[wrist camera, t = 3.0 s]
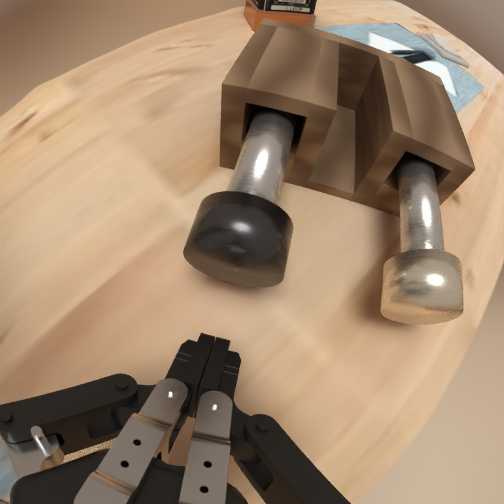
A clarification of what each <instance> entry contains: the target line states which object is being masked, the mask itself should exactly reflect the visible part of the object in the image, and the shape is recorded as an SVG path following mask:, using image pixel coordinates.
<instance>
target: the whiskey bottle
mask: <svg viewBox="0 0 504 504" xmlns="http://www.w3.org/2000/svg"><path fill="white" fill-rule="evenodd" d="M316 1H317V0H246V5H245V11H244V16H245V18H246V19H247V21H248V23H249V24H250V26H251V28H252V29H253V31H256V30H257V28H258V27H259V25H260V23H261V21H262V20H263V18H267V19H272V20H278V21H283V22H288V23H292V24H297V25H301V26H305V27H309V28H314V22H315V17H316V16H315V15H314V10H315V6H316Z"/></svg>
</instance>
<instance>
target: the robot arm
mask: <svg viewBox="0 0 504 504" xmlns="http://www.w3.org/2000/svg"><path fill="white" fill-rule="evenodd" d="M229 345H230V340H226V339H222V338H219V337H216V340H215V336H211V335H207V334H204V333H201V334H200V337H199V339H198V341H197V342H195V341H192V340H187V341H186V342H184V343H183V344H182V345H181V347H180V349H179V351H178V353H177V355H176V357H175V359H174V361H173V363H172V365H171V367H170V369H169V371H168V373H167V375H166V377H165V379H163V380H161V381H159V382H158V383H157V384H156V385H137V382H136V381H135V379H134V378H132V377H131V376H129V375H126V374H114V375H111V376H108V377H105V378H101V379H98V380H95V381H91V382H88V383H85V384H81V385H78V386H74V387H71V388H67V389H63V390H60V391H56V392H52V393H48V394H45V395H41V396H37V397H33V398H29V399H24V400H20V401H16V402H11V403H7V404H2V405H0V436H1V437H2V439H3V440H4V442H5V443H6V445H7V448H8V451H9V454H10V457H11V460H12V463H13V465H14V468H15V471H16V473H17V476H18V478H19V480H18V481H16V483H15V484H14V485H13V487H12V490H11V494H10V504H248V503H247V501H246V500H245V498H244V497H243V495H242V494H241V493H240V492H239V491H238V490H237V489H236V488H235V487H233V486H232V485H231V484H229V483H227V478H228V467H229V457H230V455H232V456H234V460H235V462H236V463H237V465H238V466H239V468H240V469H241V470H242V472H243V473H244V475H245V476H246V477H247V479H248V480H249V482H250V483H251V484H252V486H253V487H254V488H255V490H256V491H257V492H258V494H259V495H260V496H261V497H262V499H263V500H264V501H265V503H266V504H351V503H350V502H349V501H348V500H347V499H346V498H345V497H344V496H343V495H342V494H341V493H340V492H339V491H338V490H337V489H336V488H335V487H334V486H333V485H332V484H331V483H330V482H329V481H328V480H327V479H326V477H325V476H324V475H323V474H322V473H321V472H320V471H319V470H318V469H317V468H316V467H315V466H314V464H313V463H312V462H311V461H310V460H309V459H308V458H307V457H306V456H305V454H304V453H303V452H302V451H301V450H300V449H299V448H298V446H297V445H296V444H295V443H294V442H293V441H292V439H291V438H290V437H289V436H288V435H287V434H286V432H285V431H284V430H283V429H282V428H281V426H280V425H279V424H278V423H277V422H276V421H275V420H274V419H273V418H272V417H270V416H268V415H264V414H256V415H253V416H249V415H247V414H245V413H243V412H242V411H240V410H239V409H238V408H237V407H236V405H235V403H234V399H233V398H234V392H235V388H236V383H237V378H238V373H239V368H240V364H241V359H240V356H239V353H237V352H233V351H229V350H228V349H229ZM194 411H195V414H194ZM193 414H194V418H196V420H195V425H194V430H193V434H192V438H191V443H190V448H189V453H188V458H187V463H186V467H183V466H172V465H169V464H168V461H169V458H170V455H171V453H172V451H173V449H174V447H175V445H176V442H177V440H178V438H179V436H180V434H181V432H182V429H183V426H184V424H185V422H186V419H187V416H189V417H193ZM116 437H117V438H116ZM113 438H116V440H115V442H114V443H113V445H112V446H111V448H110V449H103V450H99V451H96V452H93V453H91V454H88V455H86V456H83V457H80V458H78V459H75V460H72V461H69V462H67V463H64V464H62V462H63V460H64V455H67V454H70V453H73V452H76V451H79V450H82V449H85V448H88V447H91V446H94V445H97V444H100V443H103V442H105V441H108V440H111V439H113Z"/></svg>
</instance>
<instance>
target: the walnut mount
mask: <svg viewBox="0 0 504 504" xmlns="http://www.w3.org/2000/svg"><path fill="white" fill-rule="evenodd" d="M258 105H260V106H265V107H269V108H273V109H278V110H282V111H286V112H290V113H294V114H298V116H297V120H296V125H295V129H294V134H293V138H292V143H291V147H290V152H289V156H288V161H287V165H286V170H285V174H284V179H283V181H284V182H288V183H292V184H296V185H299V186H303V187H307V188H310V189H314V190H317V191H321V192H324V193H328V194H331V195H334V196H338V197H341V198H345V199H348V200H351V201H354V202H358V203H361V204H364V205H367V206H370V207H373V208H376V209H379V210H382V211H385V212H388V213H391V214H394V215H397V216H400V202H399V186H398V174H397V163H398V162H399V160H400V159H401V157H402V156H403V154H404V153H405V152H406V151H408V152H410V153H413V154H415V155H417V156H420V157H422V158H424V159H427V160H429V161H431V162H432V163H433V168H434V174H435V179H436V185H437V191H438V198H439V205H441V204H442V203H443V202H444V201H445V200H446V199H447V198H448V197H449V196H450V195H451V194H452V193H453V192H454V191H455V190H456V189H457V188H458V187H459V186H460V185H461V184H462V183H463V182H464V181H465V180H466V179H467V178H468V177H469V176H470V175H471V174H472V172H473V171H474V170H475V166H474V163H473V160H472V157H471V154H470V150H469V147H468V145H467V142H466V139H465V136H464V133H463V131H462V128H461V125H460V123H459V120H458V118H457V115H456V113H455V110H454V108H453V105H452V103H451V101H450V99H449V96H448V94H447V92H446V90H445V88H444V84H443V82H442V80H441V78H440V77H438V76H437V75H435V74H433V73H431V72H429V71H427V70H425V69H423V68H421V67H418V66H416V65H414V64H412V63H410V62H408V61H405V60H403V59H401V58H399V57H396V56H394V55H391V54H389V53H387V52H384V51H382V50H379V49H376V48H374V47H371V46H368V45H366V44H363V43H360V42H357V41H354V40H351V39H348V38H345V37H342V36H338V35H335V34H332V33H328V32H325V31H321V30H317V29H313V28H309V27H305V26H301V25H297V24H292V23H288V22H283V21H278V20H272V19H267V18H263V20H262V21H261V23H260V25H259V27H258V28H257V30H256V31H255V33H254V34H253V36H252V37H251V39H250V40H249V42H248V43H247V45H246V46H245V48H244V49H243V51H242V52H241V54H240V55H239V57H238V59H237V60H236V62H235V63H234V65H233V66H232V68H231V70H230V71H229V73H228V75H227V76H226V78H225V80H224V81H223V83H222V98H221V131H220V166H222V167H226V168H231V169H235V167H236V164H237V161H238V158H239V156H240V153H241V150H242V147H243V145H244V142H245V139H246V137H247V134H248V131H249V129H250V126H251V123H252V121H253V118H254V115H255V113H256V110H257V108H258Z"/></svg>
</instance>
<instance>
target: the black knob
mask: <svg viewBox="0 0 504 504" xmlns="http://www.w3.org/2000/svg"><path fill="white" fill-rule="evenodd" d="M297 116H298V114H294V113H290V112H286V111H282V110H278V109H273V108H269V107H265V106H260V105H258V108H257V110H256V113H255V115H254V118H253V121H252V123H251V126H250V129H249V131H248V134H247V137H246V139H245V142H244V145H243V147H242V150H241V153H240V156H239V158H238V161H237V164H236V167H235V169H234V172H233V175H232V178H231V181H230V184H229V186H228V189H227V191H223V192H217V193H214V194H211V195H209V196H207V197H206V198H204V199H203V201H202V202H201V204H200V207H199V209H198V212H197V215H196V217H195V220H194V223H193V225H192V228H191V231H190V234H189V236H188V239H187V242H186V245H185V247H184V251H183V254H184V257H185V259H186V260H187V261H188V262H189V263H190V264H191V265H192V266H193V267H195V268H196V269H198V270H199V271H201V272H203V273H205V274H207V275H209V276H211V277H213V278H216V279H219V280H221V281H225V282H228V283H232V284H236V285H241V286H247V287H270V286H274V285H277V284H279V283H280V282H281V281H282V280H283V278H284V273H285V268H286V263H287V258H288V253H289V248H290V243H291V238H292V233H293V223H292V221H291V219H290V217H289V216H288V215H287V213H286V212H285V211H284V210H282V209H281V208H280V207H279V206H277V205H278V201H279V196H280V192H281V187H282V183H283V179H284V174H285V170H286V165H287V161H288V156H289V152H290V147H291V143H292V138H293V134H294V129H295V125H296V120H297Z"/></svg>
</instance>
